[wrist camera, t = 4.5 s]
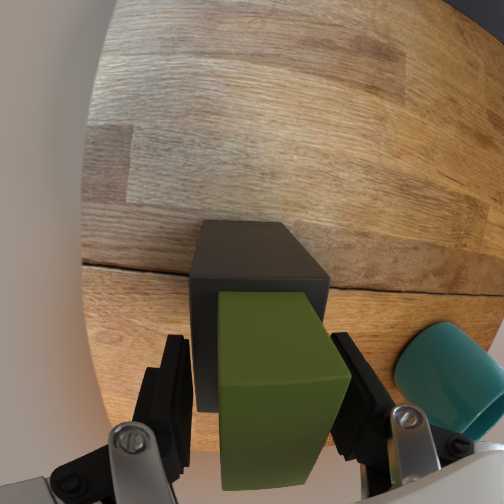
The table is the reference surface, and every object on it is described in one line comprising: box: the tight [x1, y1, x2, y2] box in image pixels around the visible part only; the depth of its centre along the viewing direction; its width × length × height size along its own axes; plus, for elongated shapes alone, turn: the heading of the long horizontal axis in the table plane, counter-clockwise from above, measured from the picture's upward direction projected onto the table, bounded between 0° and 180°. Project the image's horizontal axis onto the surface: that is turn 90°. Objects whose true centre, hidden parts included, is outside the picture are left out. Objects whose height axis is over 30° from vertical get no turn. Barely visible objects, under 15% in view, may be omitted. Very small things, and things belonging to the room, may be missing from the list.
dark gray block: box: [189, 220, 331, 413], centre depth 15 cm, size 7×5×9 cm
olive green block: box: [218, 291, 351, 491], centre depth 9 cm, size 6×3×4 cm, turn 176°
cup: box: [394, 322, 504, 443], centre depth 20 cm, size 9×12×11 cm
